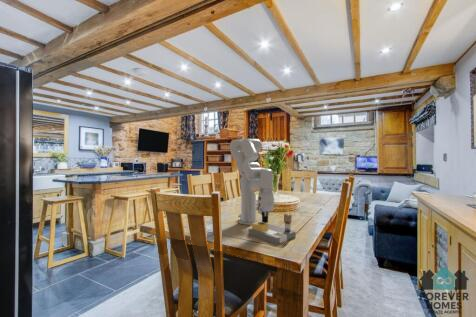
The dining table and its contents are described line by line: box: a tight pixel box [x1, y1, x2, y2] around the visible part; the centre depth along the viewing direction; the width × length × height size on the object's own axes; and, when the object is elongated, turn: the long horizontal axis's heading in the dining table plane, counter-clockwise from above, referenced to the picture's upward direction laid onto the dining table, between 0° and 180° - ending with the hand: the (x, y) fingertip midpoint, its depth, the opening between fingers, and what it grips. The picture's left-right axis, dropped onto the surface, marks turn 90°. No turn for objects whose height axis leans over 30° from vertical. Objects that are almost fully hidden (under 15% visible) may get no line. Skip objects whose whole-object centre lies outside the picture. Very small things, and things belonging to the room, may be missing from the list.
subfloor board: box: [247, 223, 297, 245], centre depth 126 cm, size 20×16×3 cm
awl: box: [283, 213, 293, 232], centre depth 124 cm, size 4×4×9 cm
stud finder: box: [251, 221, 270, 232], centre depth 127 cm, size 7×6×3 cm
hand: (264, 222), depth 132 cm, fingers closed
